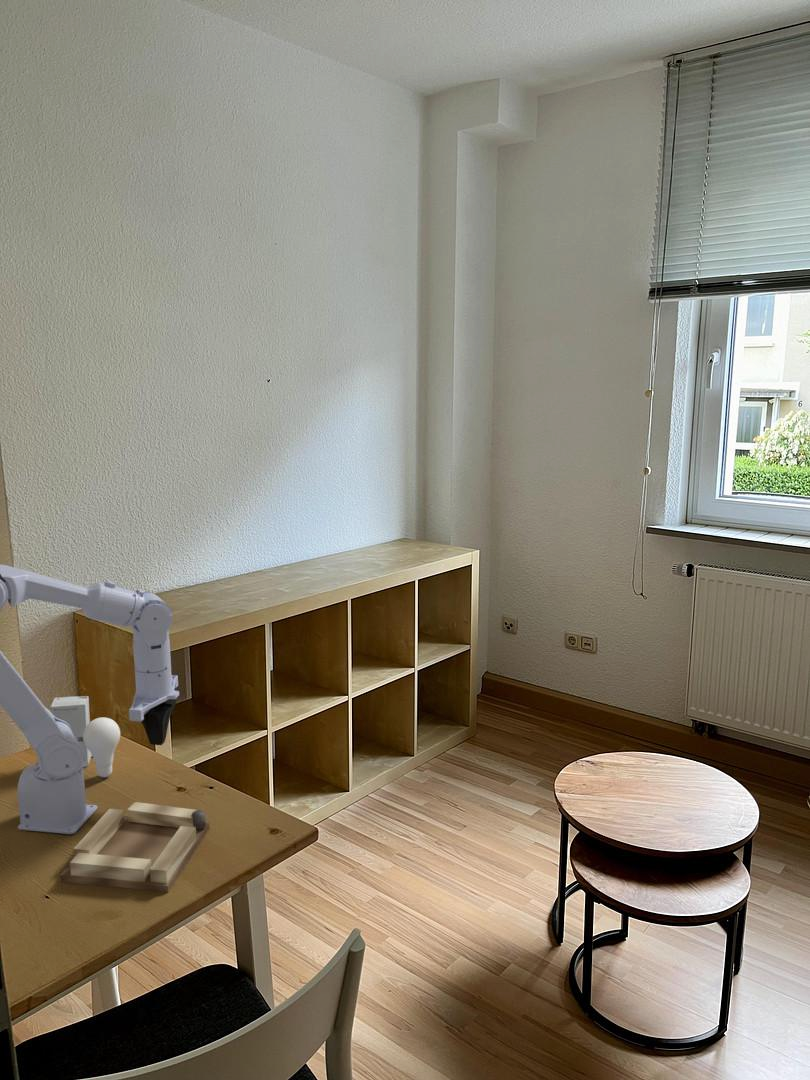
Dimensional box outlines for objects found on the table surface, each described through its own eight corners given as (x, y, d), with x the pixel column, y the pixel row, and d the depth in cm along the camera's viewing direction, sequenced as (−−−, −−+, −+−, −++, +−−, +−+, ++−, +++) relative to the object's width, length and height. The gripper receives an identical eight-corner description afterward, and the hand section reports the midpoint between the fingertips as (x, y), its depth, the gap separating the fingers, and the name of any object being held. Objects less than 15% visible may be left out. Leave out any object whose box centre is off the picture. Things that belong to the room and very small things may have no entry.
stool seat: (60, 881, 120) (58, 862, 119) (113, 820, 136) (112, 803, 135) (168, 892, 118) (166, 873, 117) (209, 828, 134) (208, 811, 133)
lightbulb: (111, 787, 146) (107, 728, 143) (79, 783, 147) (74, 724, 144) (129, 770, 152) (125, 713, 149) (98, 766, 153) (94, 710, 150)
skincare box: (53, 770, 151) (47, 707, 149) (58, 758, 156) (52, 697, 153) (89, 767, 153) (84, 704, 150) (93, 755, 157) (88, 694, 154)
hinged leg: (208, 822, 133) (207, 810, 132) (201, 831, 131) (201, 818, 130) (135, 813, 135) (135, 800, 135) (128, 821, 133) (127, 808, 133)
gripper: (157, 685, 131) (162, 765, 134) (193, 652, 145) (196, 725, 148) (114, 682, 132) (120, 762, 135) (154, 650, 146) (158, 723, 149)
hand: (157, 743), depth 142 cm, fingers closed
